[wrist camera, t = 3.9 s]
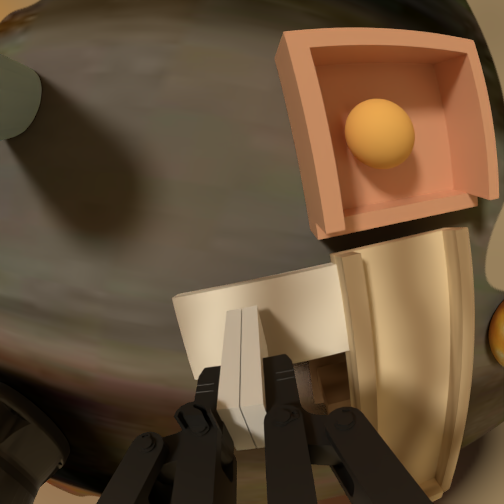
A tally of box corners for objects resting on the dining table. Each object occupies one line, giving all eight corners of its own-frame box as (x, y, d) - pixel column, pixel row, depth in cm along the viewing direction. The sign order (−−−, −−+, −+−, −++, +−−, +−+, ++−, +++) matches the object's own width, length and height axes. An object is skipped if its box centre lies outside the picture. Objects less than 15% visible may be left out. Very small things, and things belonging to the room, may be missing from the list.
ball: (346, 178, 17) (369, 166, 13) (329, 115, 17) (346, 89, 13) (403, 169, 17) (436, 158, 13) (387, 110, 16) (413, 86, 12)
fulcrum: (313, 398, 24) (323, 440, 19) (304, 336, 21) (317, 379, 17) (434, 360, 23) (458, 392, 19) (443, 296, 21) (476, 326, 16)
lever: (254, 520, 18) (252, 546, 15) (175, 285, 17) (157, 296, 14) (437, 472, 18) (451, 492, 14) (443, 227, 16) (472, 227, 13)
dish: (310, 229, 19) (328, 253, 15) (274, 58, 15) (283, 31, 11) (459, 199, 18) (498, 213, 14) (436, 54, 15) (473, 40, 11)
